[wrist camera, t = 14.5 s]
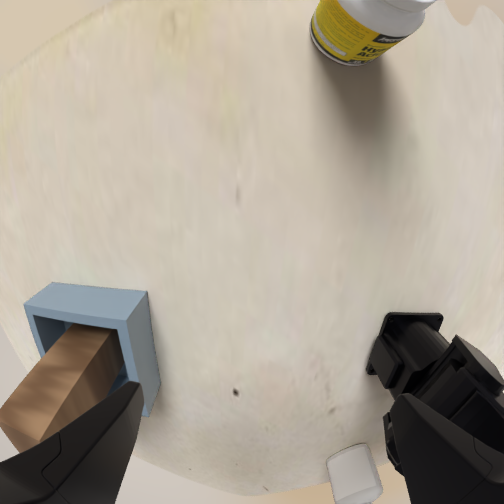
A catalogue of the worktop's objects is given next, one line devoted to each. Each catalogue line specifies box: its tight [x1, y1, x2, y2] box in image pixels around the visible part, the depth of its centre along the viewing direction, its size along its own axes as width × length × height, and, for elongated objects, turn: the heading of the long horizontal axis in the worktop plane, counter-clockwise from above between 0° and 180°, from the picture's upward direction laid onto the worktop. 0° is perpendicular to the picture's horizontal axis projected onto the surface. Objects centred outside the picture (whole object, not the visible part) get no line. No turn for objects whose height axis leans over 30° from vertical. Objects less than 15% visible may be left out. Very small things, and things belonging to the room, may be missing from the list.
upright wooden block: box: [0, 323, 125, 453], centre depth 16 cm, size 4×4×13 cm
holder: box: [24, 282, 161, 417], centre depth 21 cm, size 10×10×4 cm
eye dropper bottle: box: [326, 444, 383, 504], centre depth 23 cm, size 4×6×12 cm
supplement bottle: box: [310, 0, 436, 66], centre depth 11 cm, size 5×5×10 cm
